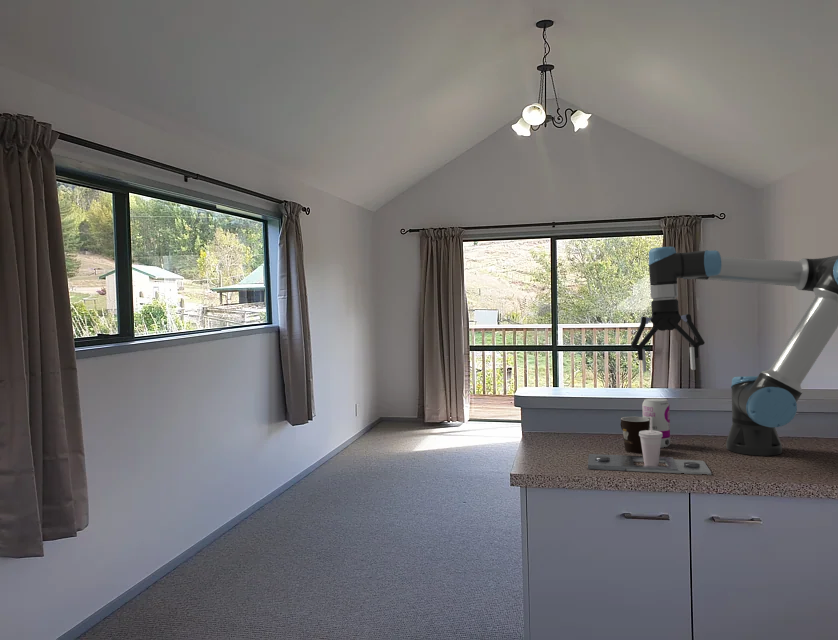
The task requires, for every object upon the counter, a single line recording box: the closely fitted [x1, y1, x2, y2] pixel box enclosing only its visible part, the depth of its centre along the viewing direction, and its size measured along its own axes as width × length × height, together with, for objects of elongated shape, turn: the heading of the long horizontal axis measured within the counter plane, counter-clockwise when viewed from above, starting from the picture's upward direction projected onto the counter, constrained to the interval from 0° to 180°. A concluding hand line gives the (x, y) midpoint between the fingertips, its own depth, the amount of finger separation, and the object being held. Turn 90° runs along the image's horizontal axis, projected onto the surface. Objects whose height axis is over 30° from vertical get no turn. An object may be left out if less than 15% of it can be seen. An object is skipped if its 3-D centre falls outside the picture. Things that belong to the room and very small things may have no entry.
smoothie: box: [639, 417, 663, 466], centre depth 174 cm, size 6×6×14 cm
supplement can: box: [641, 397, 671, 449], centre depth 199 cm, size 8×8×15 cm
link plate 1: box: [587, 453, 678, 472], centre depth 176 cm, size 24×13×2 cm, turn 73°
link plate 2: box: [625, 458, 713, 476], centre depth 173 cm, size 22×13×1 cm, turn 73°
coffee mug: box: [620, 416, 650, 454], centre depth 194 cm, size 12×9×10 cm
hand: (668, 370), depth 182 cm, fingers open, 13 cm apart
